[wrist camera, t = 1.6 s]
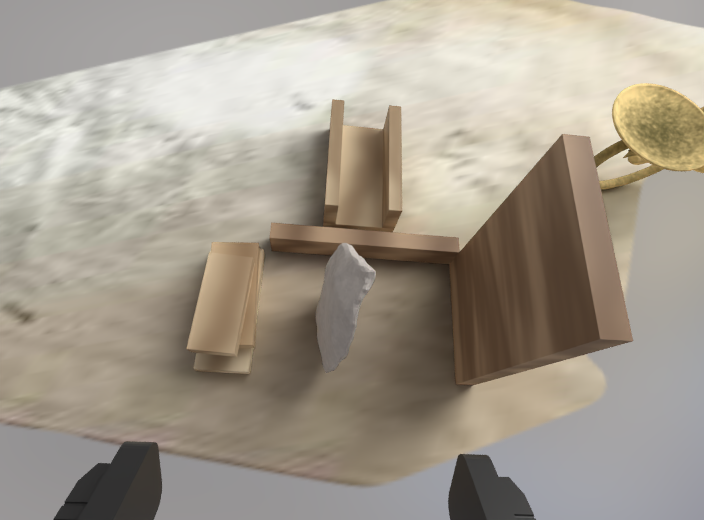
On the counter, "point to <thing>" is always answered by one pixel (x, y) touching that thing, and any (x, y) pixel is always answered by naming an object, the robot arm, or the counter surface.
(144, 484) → the robot arm
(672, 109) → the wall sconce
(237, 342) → the offcut stack
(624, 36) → the counter surface
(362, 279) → the stone tool
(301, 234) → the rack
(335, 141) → the holder
